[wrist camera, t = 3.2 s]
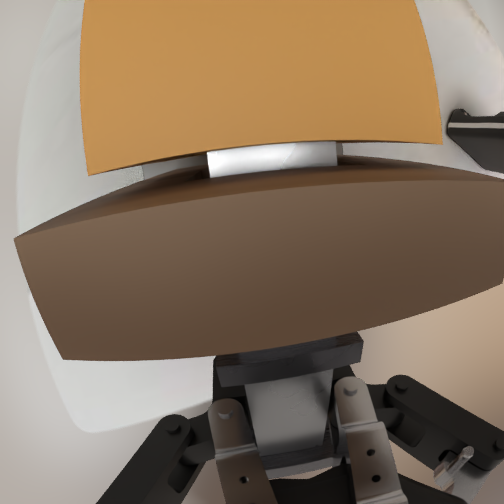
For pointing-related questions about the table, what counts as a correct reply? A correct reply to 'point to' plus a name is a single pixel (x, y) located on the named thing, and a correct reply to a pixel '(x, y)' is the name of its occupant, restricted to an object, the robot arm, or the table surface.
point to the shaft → (286, 347)
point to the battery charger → (480, 138)
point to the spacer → (250, 76)
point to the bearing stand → (260, 256)
